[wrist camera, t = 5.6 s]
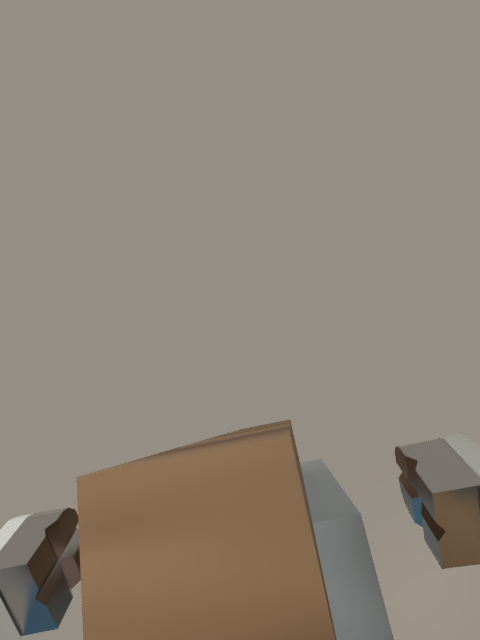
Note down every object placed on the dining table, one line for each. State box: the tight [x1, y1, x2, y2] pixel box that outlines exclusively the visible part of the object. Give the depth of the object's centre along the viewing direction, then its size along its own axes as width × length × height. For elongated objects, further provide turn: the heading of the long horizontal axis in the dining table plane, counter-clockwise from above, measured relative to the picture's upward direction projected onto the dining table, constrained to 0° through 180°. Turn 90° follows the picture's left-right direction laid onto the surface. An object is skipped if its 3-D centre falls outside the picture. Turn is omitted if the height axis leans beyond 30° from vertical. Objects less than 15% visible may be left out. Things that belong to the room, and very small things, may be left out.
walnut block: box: [77, 420, 337, 640], centre depth 14 cm, size 20×4×4 cm, turn 172°
